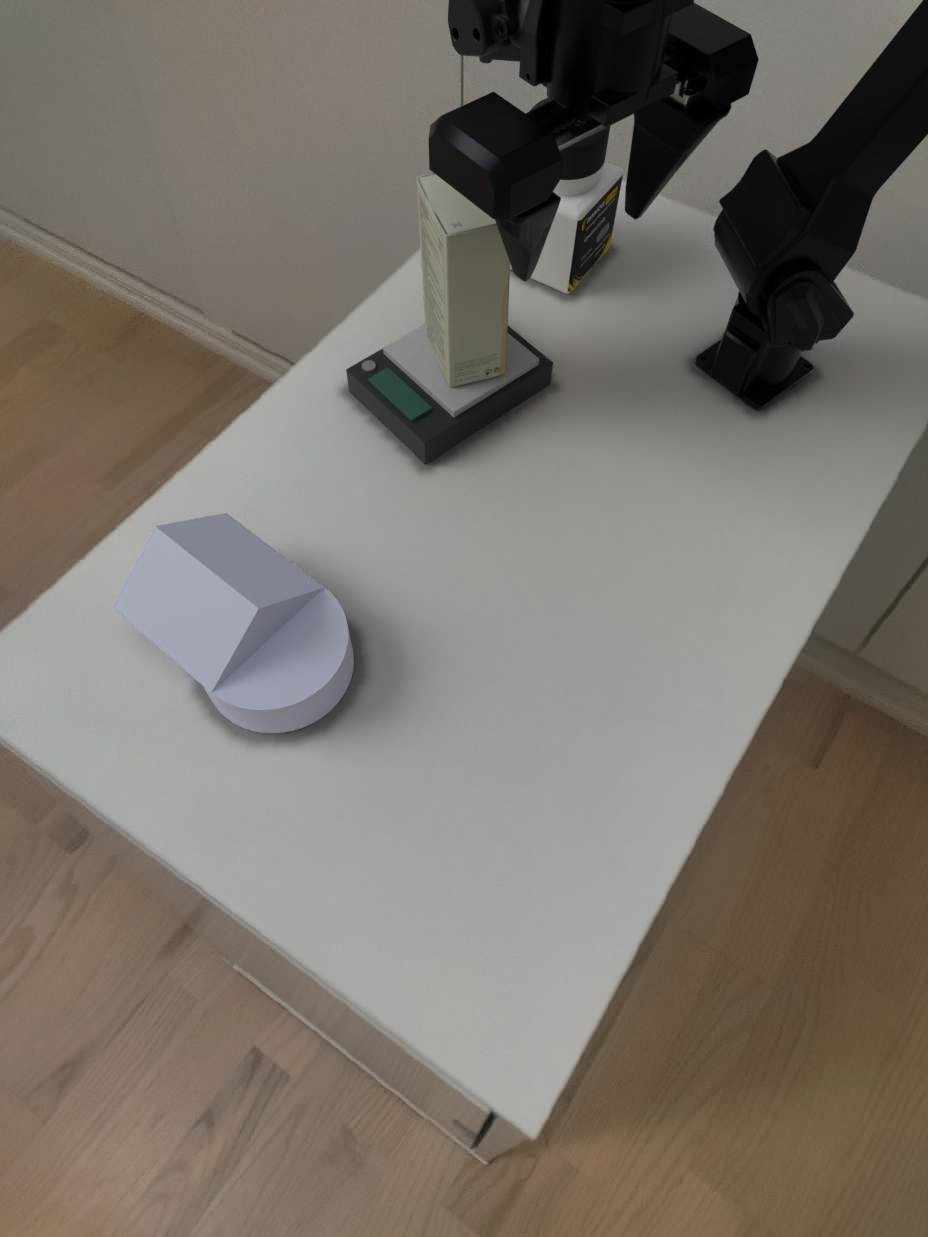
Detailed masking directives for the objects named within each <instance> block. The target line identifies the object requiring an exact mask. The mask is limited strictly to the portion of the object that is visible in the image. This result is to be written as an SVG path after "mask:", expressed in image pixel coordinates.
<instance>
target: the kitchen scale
mask: <svg viewBox="0 0 928 1237" xmlns="http://www.w3.org/2000/svg"><path fill="white" fill-rule="evenodd" d="M553 368H554V362H553V361H552V360H551V359H550V358H548V357H547V356H546V355H545V354H543V353H542V352H541V351H540V350H538V349H537V348H536V347H535V346H534V345H533V344H531V343H530V342H529V341H527V340H526V339H525V338H524V337H523V336H522V335H520V334H519V333H518V332H517V331H515V330H514V329H513V328H511V326H509V325H508V331H507V355H506V373H505V374H503V375H499V376H495V377H492V378H488V379H484V380H480V381H476V382H472V383H467V384H463V385H458V386H455V387H450V386H449V385H448V382H447V380H446V378H445V376H444V374H443V372H442V370H441V368H440V365H439V363H438V361H437V359H436V356H435V354H434V352H433V349H432V347H431V345H430V342H429V340H428V337H427V335H426V330H425V323H424V324H423V325H421V326H419V327H417V328H415V329H413V330H411V331H410V332H407V334H405V335H403V336H401V337H399V338H397V339H396V340H394V341H392V342H391V343H389V344H387V345H385V346H384V347H382V348H381V349H379V350H377V351H375V352H374V353H372V354H370V355H369V356H367V357H365V358H363V359H361V360H360V361H358V362H357V363H354V364H353V365H352V366H350V367H348V368H345V371H346V378H347V386H348V392H349V393H350V394H351V395H352V396H354V397H355V398H356V400H358V402H360V404H362V405H363V406H364V407H365V408H366V410H368V411H369V412H370V413H371V414H372V415H373V416H374V417H375V418H376V419H378V420H379V421H380V422H381V424H383V425H384V426H385V427H386V428H387V429H388V430H389V431H390V432H391V433H392V434H393V435H394V436H395V437H396V438H398V440H399V441H400V442H401V443H402V444H404V446H406V447H407V448H408V449H409V450H410V451H411V453H413V454H414V455H415V456H416V457H417V458H418V459H419V460H421V462H422V463H424V465H427V464H429V463H430V462H432V461H433V460H435V459H436V458H438V457H440V456H441V455H443V454H444V453H446V452H447V451H449V450H451V449H452V448H453V447H455V446H456V445H458V444H460V443H461V442H463V441H465V440H467V439H468V438H469V437H471V436H473V435H474V434H476V433H477V432H478V431H481V430H482V429H483V428H485V427H487V426H488V425H489V424H491V423H492V422H494V421H496V420H498V419H499V418H501V417H503V415H505V414H507V413H508V412H510V411H512V410H513V409H515V408H516V407H517V406H519V405H521V404H523V403H524V402H526V401H527V400H528V399H531V397H533V396H535V395H536V394H538V393H540V392H541V391H543V390H544V389H546V388H547V387H549V386H551V384H552V376H553Z"/></svg>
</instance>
